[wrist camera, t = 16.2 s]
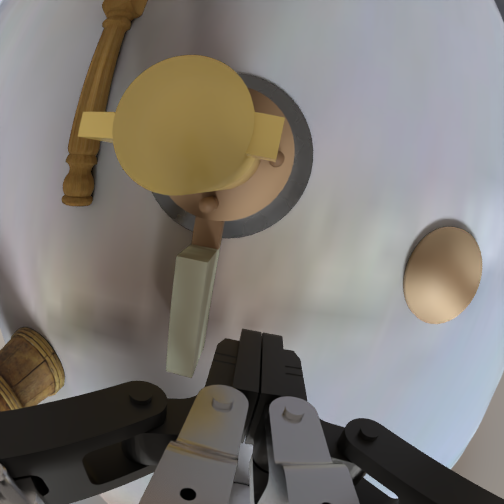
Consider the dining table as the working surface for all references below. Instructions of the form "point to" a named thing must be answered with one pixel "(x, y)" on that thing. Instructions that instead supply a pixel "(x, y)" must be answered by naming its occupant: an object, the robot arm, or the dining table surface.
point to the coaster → (442, 275)
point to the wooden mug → (28, 371)
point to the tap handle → (96, 98)
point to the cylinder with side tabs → (187, 128)
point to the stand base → (291, 188)
